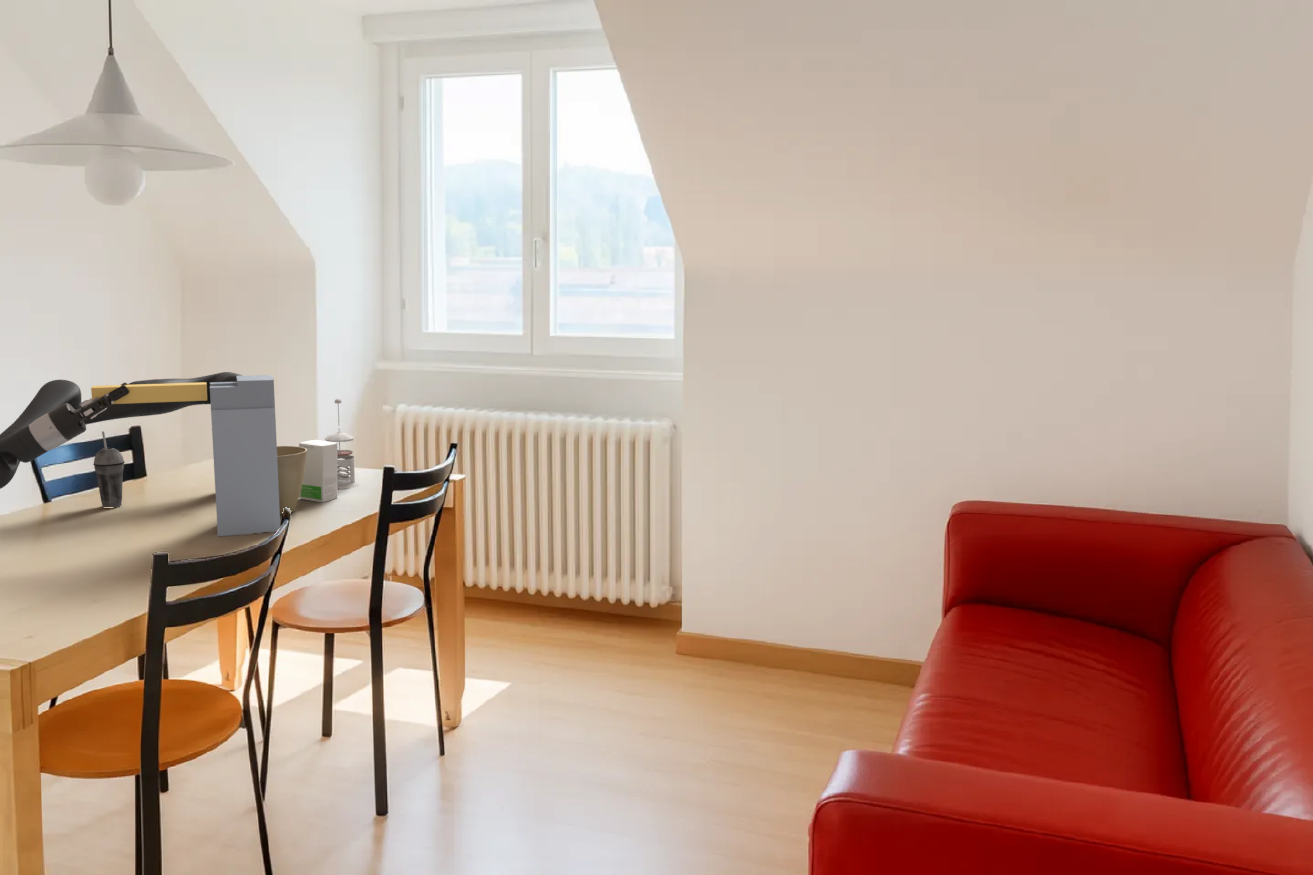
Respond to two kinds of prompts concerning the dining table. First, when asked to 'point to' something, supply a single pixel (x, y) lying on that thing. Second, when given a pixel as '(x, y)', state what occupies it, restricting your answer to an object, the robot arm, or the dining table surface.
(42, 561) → the dining table surface
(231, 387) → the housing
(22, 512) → the dining table surface
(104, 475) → the beverage cup
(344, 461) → the french press
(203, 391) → the bar
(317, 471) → the skincare box
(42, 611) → the dining table surface
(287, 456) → the plant pot
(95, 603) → the dining table surface
